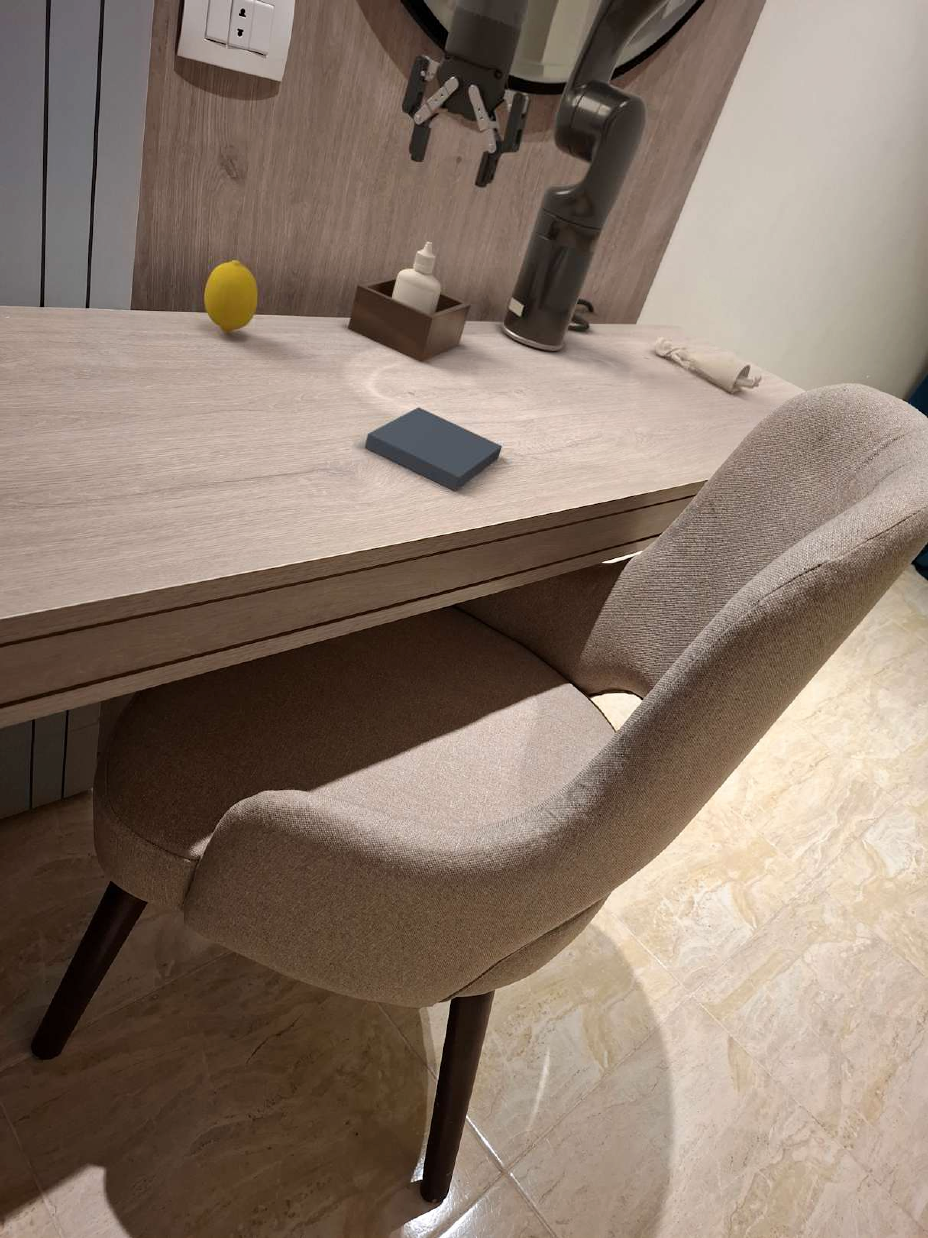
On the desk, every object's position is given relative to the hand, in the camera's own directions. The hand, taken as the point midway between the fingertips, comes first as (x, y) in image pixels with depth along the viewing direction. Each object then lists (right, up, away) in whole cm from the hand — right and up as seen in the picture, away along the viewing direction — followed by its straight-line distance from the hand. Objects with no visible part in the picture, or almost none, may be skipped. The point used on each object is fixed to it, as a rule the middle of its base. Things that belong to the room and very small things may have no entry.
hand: (448, 173), depth 106 cm
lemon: (-25, -21, -6) cm, 33 cm away
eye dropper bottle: (-6, -16, +11) cm, 20 cm away
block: (-1, -35, -15) cm, 39 cm away
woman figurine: (+39, -13, +38) cm, 56 cm away
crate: (-6, -16, +11) cm, 20 cm away
